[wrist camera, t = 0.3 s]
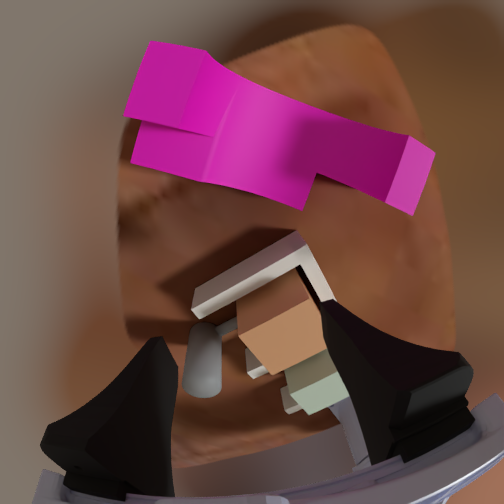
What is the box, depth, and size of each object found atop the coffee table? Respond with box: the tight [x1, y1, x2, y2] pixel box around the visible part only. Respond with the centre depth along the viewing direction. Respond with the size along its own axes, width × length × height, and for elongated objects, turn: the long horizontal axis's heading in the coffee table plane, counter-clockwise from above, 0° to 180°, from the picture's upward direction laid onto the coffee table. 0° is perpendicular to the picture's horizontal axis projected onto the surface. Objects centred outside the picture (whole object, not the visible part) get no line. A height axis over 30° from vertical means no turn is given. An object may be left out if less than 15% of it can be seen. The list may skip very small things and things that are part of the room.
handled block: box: [182, 268, 327, 398], centre depth 21 cm, size 4×11×6 cm, turn 121°
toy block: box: [123, 41, 435, 216], centre depth 15 cm, size 15×6×8 cm, turn 71°
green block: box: [284, 348, 349, 415], centre depth 23 cm, size 4×5×6 cm
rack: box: [191, 230, 337, 414], centre depth 23 cm, size 16×9×3 cm, turn 30°
